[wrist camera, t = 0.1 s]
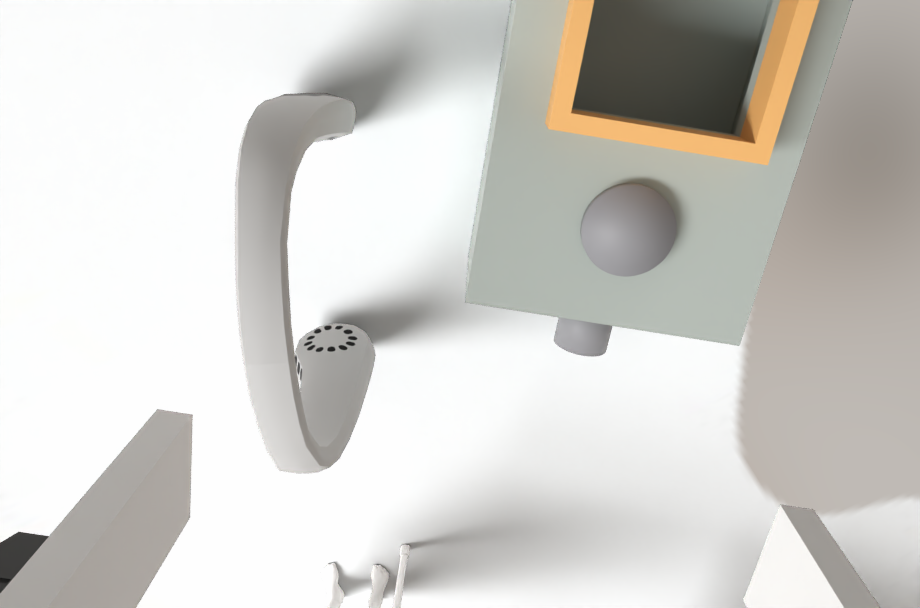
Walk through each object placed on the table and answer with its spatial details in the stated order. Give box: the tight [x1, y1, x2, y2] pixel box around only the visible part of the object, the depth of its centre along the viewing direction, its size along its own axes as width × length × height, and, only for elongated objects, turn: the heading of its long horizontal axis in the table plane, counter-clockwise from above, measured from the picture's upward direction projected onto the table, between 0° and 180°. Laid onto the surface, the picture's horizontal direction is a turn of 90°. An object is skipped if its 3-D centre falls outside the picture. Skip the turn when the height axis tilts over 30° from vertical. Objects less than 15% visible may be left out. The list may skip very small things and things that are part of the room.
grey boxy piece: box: [465, 0, 853, 356], centre depth 36 cm, size 23×14×10 cm, turn 171°
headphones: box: [235, 93, 376, 473], centre depth 35 cm, size 18×17×5 cm
